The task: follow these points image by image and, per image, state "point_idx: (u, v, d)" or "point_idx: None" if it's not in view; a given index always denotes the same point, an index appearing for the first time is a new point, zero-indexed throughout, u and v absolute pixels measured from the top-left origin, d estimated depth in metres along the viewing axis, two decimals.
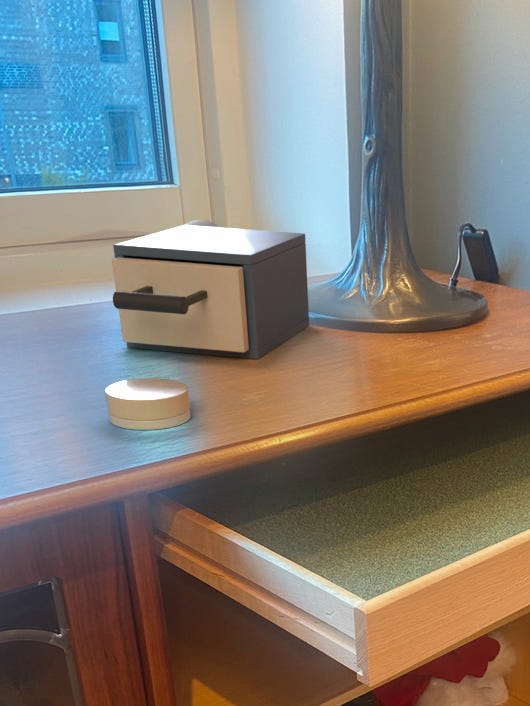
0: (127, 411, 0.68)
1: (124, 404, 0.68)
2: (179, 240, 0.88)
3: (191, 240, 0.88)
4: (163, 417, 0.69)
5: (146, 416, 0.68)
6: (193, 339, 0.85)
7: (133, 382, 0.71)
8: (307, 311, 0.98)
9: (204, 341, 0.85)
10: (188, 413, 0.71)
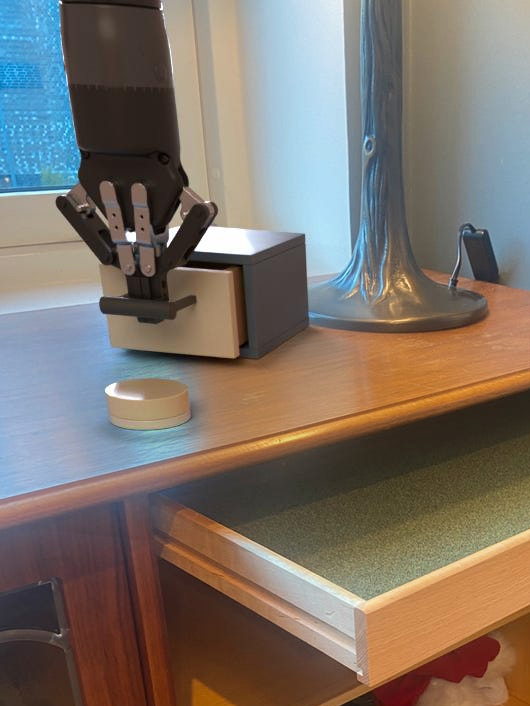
0: (127, 411, 0.68)
1: (124, 404, 0.68)
2: None
3: None
4: (163, 417, 0.69)
5: (146, 416, 0.68)
6: (183, 344, 0.83)
7: (133, 382, 0.71)
8: (307, 311, 0.98)
9: (193, 347, 0.83)
10: (188, 413, 0.71)
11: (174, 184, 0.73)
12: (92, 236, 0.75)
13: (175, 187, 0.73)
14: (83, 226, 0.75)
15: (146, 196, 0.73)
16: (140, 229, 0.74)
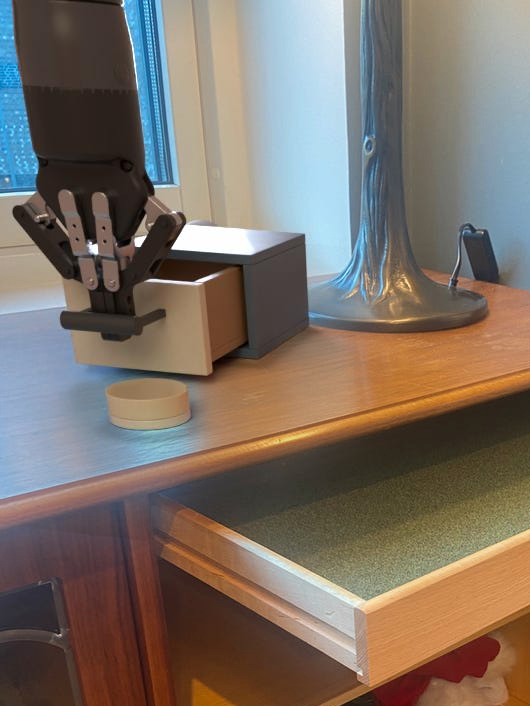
0: (127, 411, 0.68)
1: (124, 404, 0.68)
2: (179, 240, 0.88)
3: (191, 240, 0.88)
4: (163, 417, 0.69)
5: (146, 416, 0.68)
6: (152, 361, 0.78)
7: (133, 382, 0.71)
8: (307, 311, 0.98)
9: (163, 363, 0.78)
10: (188, 413, 0.71)
11: (138, 193, 0.68)
12: (52, 248, 0.71)
13: (139, 196, 0.68)
14: (42, 238, 0.70)
15: (108, 206, 0.68)
16: (102, 241, 0.69)
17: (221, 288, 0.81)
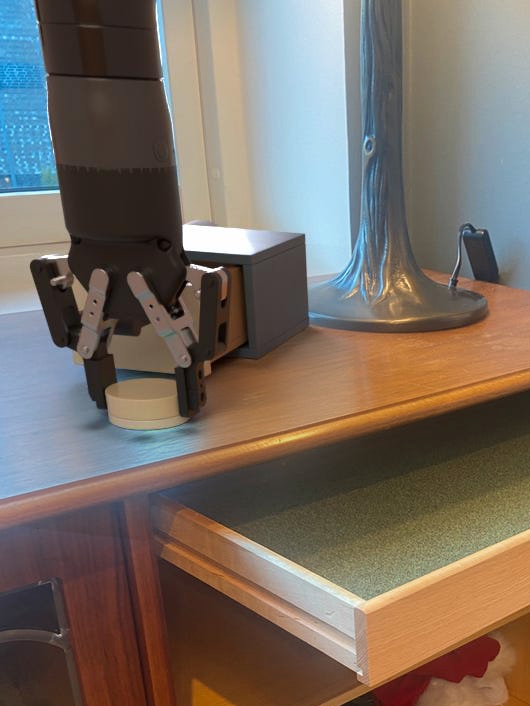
0: (127, 411, 0.68)
1: (124, 404, 0.68)
2: None
3: (191, 240, 0.88)
4: (163, 417, 0.69)
5: (146, 416, 0.68)
6: (150, 361, 0.78)
7: (133, 382, 0.71)
8: (307, 311, 0.98)
9: (162, 364, 0.78)
10: None
11: (175, 272, 0.64)
12: (55, 314, 0.67)
13: (177, 276, 0.65)
14: (50, 300, 0.67)
15: (144, 286, 0.64)
16: (155, 320, 0.66)
17: None
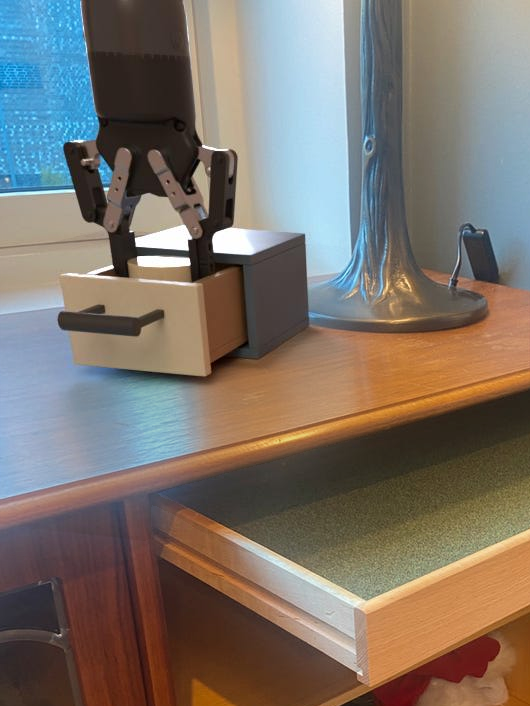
0: (147, 277, 0.78)
1: (144, 270, 0.78)
2: (179, 240, 0.88)
3: None
4: None
5: None
6: (150, 361, 0.78)
7: (151, 257, 0.81)
8: (307, 311, 0.98)
9: (162, 364, 0.78)
10: None
11: (189, 151, 0.75)
12: (84, 191, 0.77)
13: (190, 154, 0.75)
14: (80, 178, 0.77)
15: (162, 163, 0.75)
16: (171, 194, 0.76)
17: (220, 288, 0.80)
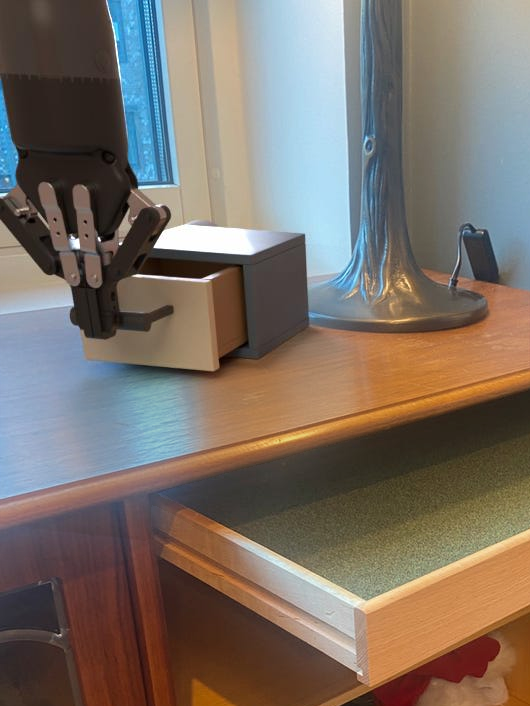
0: None
1: None
2: (179, 240, 0.88)
3: (191, 240, 0.88)
4: None
5: None
6: (159, 357, 0.79)
7: None
8: (307, 311, 0.98)
9: (171, 359, 0.79)
10: None
11: (120, 186, 0.66)
12: (33, 243, 0.68)
13: (121, 189, 0.66)
14: (22, 232, 0.68)
15: (89, 199, 0.66)
16: (84, 235, 0.67)
17: (228, 285, 0.82)
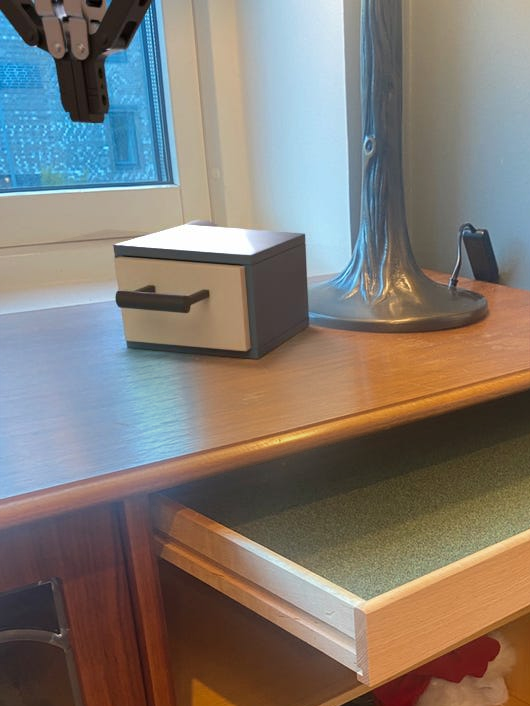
0: None
1: None
2: (179, 240, 0.88)
3: (191, 240, 0.88)
4: None
5: None
6: (195, 338, 0.86)
7: None
8: (307, 311, 0.98)
9: (206, 340, 0.86)
10: None
11: None
12: (13, 8, 0.63)
13: None
14: None
15: None
16: None
17: None
